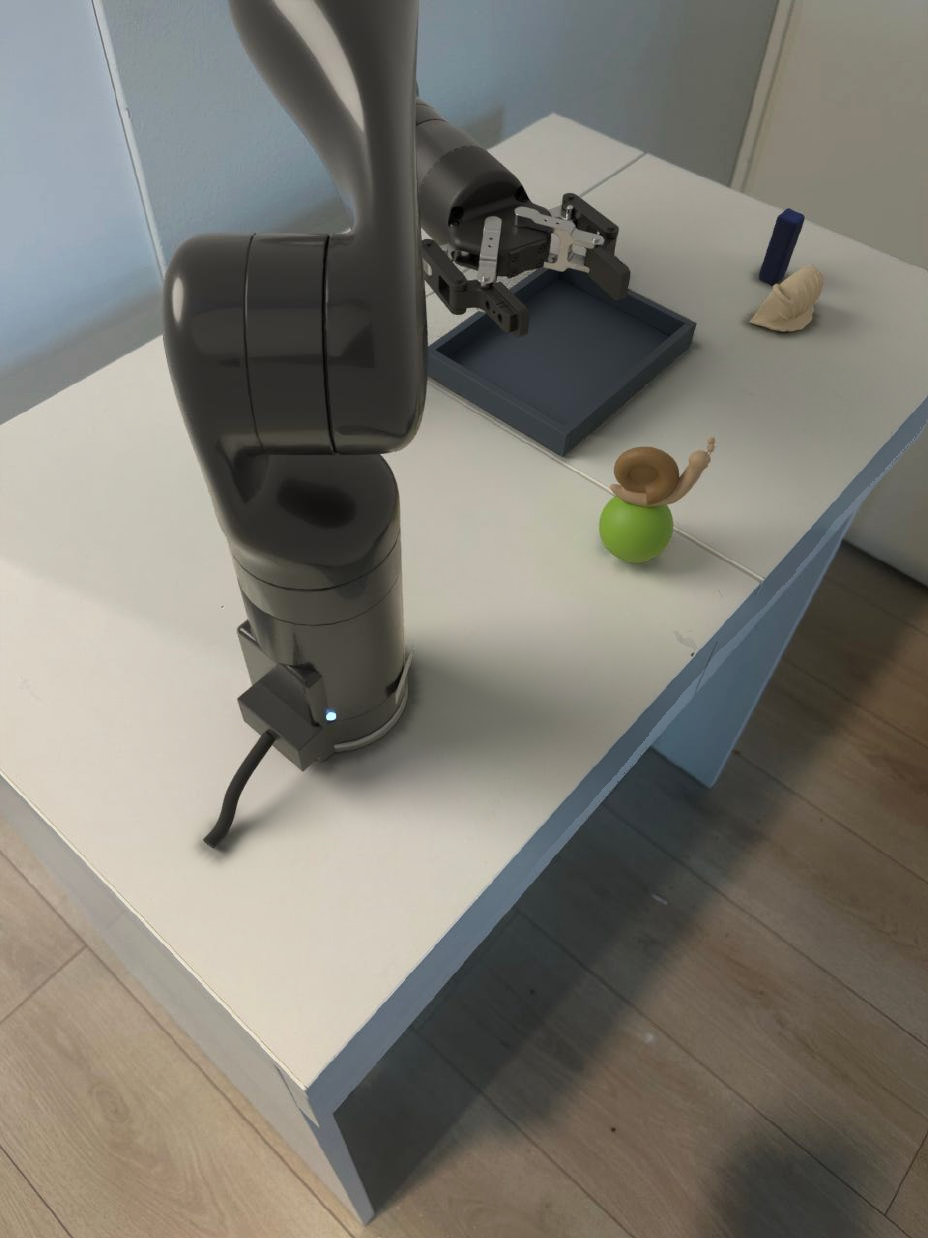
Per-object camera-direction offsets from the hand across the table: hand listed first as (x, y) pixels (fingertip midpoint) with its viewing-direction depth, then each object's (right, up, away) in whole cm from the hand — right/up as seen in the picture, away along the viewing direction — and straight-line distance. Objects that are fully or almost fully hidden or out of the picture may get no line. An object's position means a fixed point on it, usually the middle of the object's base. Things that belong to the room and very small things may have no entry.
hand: (576, 306), depth 66 cm
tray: (+1, +2, +19) cm, 20 cm away
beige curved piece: (+22, +7, +24) cm, 33 cm away
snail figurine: (+5, -17, +7) cm, 19 cm away
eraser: (+23, +12, +28) cm, 38 cm away
